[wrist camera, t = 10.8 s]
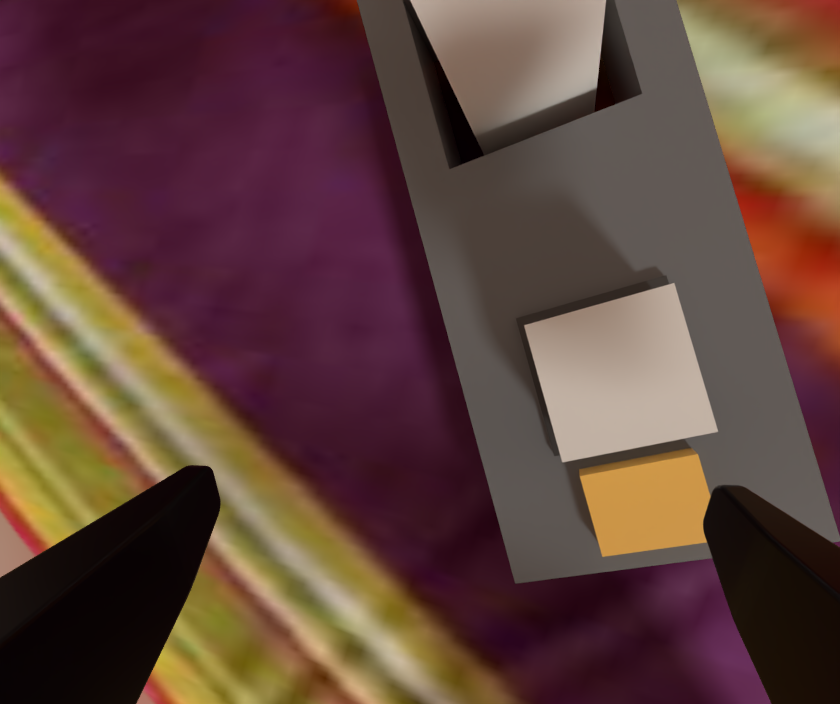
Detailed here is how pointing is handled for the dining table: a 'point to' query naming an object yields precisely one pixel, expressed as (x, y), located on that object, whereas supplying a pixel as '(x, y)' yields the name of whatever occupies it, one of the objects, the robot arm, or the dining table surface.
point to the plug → (517, 62)
